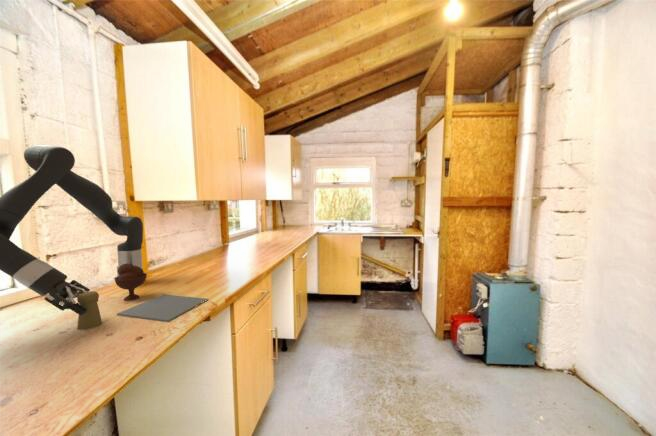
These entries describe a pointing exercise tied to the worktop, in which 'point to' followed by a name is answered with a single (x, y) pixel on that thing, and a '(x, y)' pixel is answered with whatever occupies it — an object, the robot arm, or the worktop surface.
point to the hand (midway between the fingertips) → (90, 307)
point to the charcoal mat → (162, 307)
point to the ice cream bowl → (130, 279)
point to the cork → (89, 311)
